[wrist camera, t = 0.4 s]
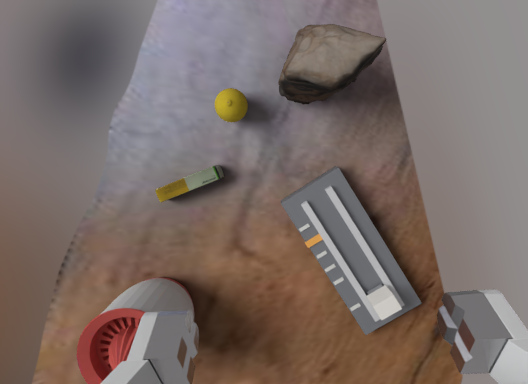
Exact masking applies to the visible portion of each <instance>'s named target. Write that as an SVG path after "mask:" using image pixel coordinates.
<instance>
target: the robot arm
mask: <svg viewBox="0 0 528 384" xmlns="http://www.w3.org/2000/svg"><path fill="white" fill-rule="evenodd" d="M442 302H443V304H444V305H443V306H442V307H440V308H439V310H438V314H437V320H438V326H439V329H440V332H441V334H442V336H443V339H444V340H446V341H447V342H448V343H450V344H451V345H452V347H451V351H450V354H451V356H452V358H453V360H454V362H455V364H456V366H457V368H458V370H459V372H460V374H473V373H474V374H477V373H490V376H491V377H493V378H494V379H495V380H496V381H497V382H498V383H499V384H528V330H527V328H526V327H525V326H524V324H523V323H522V321H521V320H520V319H519V317H518V316H517V315H516V313H515V312H514V310H513V309H512V307H511V306H510V305H509V303H508V302H507V301H506V299H505V298H504V296H503V295H502V294H501V292H499V291H498V290H496V289H492V290H481V291H478V290H473V291H460V292H448V293H445V294H444V295H443V297H442ZM192 321H193V314H192V311H191V310H181V311H158V312H145V313H144V315H143V316H142V318H141V321H140V323H139V326H138V329H137V332H136V335H135V338H134V341H133V343H132V346H131V349H130V352H129V355H128V358H127V361H122V362H121V363H120V364H119V365H118V366H117V367H116V368H115V369H114V370H113V371H112V372H111V373H110V374H109V375H108V376H107V377H106V378H105V379H104V380H103V381H102V382H101V383H100V384H192V382H193V377H194V371H195V365H194V362H193V360H192V359H193V358H194V357H195V355H196V354H197V353H198V347H199V331H198V327H197V324H196V323H194V322H192Z"/></svg>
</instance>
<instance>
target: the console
mask: <svg viewBox="0 0 528 384" xmlns="http://www.w3.org/2000/svg"><path fill="white" fill-rule="evenodd" d="M281 204H282V206H283V208H284V209H285V211H286V212H287V214H288V215H289V217H290V218H291V220H292V221H293V223H294V225H295V226H296V228H297V229H298V231H299V232H300V234H301V235H302V237H303V239H304V240H305V244H306V245H307V247H308V248H310V249H311V251H312V252H313V254H314V256H315V257H316V259H317V260H318V262H319V263H320V265H321V266H322V268H323V270H324V271H325V273H326V274H327V276H328V277H329V279H330V280H331V282H332V284H333V285H334V287H335V288H336V290H337V291H338V293H339V294H340V296H341V297H342V299H343V301H344V302H345V304H346V305H347V307H348V308H349V310H350V311H351V313H352V315H353V316H354V318H355V319H356V321H357V322H358V324H359V325H360V327H361V328H362V330H363V332H364V333H365V335H367V334H369V333H370V332H372V331H374V330H376V329H377V328H379V327H381V326H383V325H384V324H386V323H388V322H390V321H391V320H393V319H395V318H397V317H398V316H400V315H402V314H404V313H405V312H407V311H409V310H411V309H413V308H414V307H416V306H418V305H420V304H421V301H420V300H419V298H418V296H417V295H416V293H415V291H414V290H413V288H412V286H411V285H410V283H409V282H408V280H407V278H406V277H405V275H404V273H403V272H402V270H401V269H400V267H399V265H398V264H397V262H396V260H395V259H394V257H393V256H392V254H391V252H390V251H389V249H388V247H387V246H386V244H385V242H384V241H383V239H382V238H381V236H380V234H379V233H378V231H377V229H376V228H375V226H374V225H373V223H372V221H371V220H370V218H369V216H368V215H367V213H366V212H365V210H364V208H363V207H362V205H361V203H360V202H359V200H358V198H357V197H356V195H355V194H354V192H353V190H352V189H351V187H350V185H349V184H348V182H347V181H346V179H345V177H344V176H343V174H342V172H341V171H340V169H339V168H338V167H336V166H335V167H333V168H332V169H330V170H329V171H327V172H325V173H324V174H322V175H321V176H319V177H318V178H316V179H314V180H313V181H311V182H310V183H308V184H306V185H305V186H303V187H302V188H300V189H298V190H297V191H295V192H294V193H292V194H290V195H289V196H287V197H286V198H284V199H283V200H281ZM380 284H382V286H384V285H386V286H387V288H388V289H389V290H390V291H391V292H392V294H393V295H394V296H395V298H396V300H397V301H398V303H399V304H400V306H401V308H402V309H401V310H399V311H398V312H396V313H394V314H392V315H391V316H389V317H387V318H385V319H384V320H381V319H380V317H379V316H378V314H377V312H376V311H375V309H374V308H373V306H372V305H371V303H370V301H369V300H368V298H367V297H366V296H367V295H368V293H367V292H368V291H369V290H371V289H373V288H375V287H376V286H378V285H380Z"/></svg>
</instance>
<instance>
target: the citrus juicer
mask: <svg viewBox="0 0 528 384" xmlns="http://www.w3.org/2000/svg"><path fill="white" fill-rule="evenodd" d="M181 310H191V311H192V314H193V321H192V322H194V305H193V301H192V298H191V296H190V294H189V292H188V291H187V290H186V288H185V287H184V286H183V285H182V284H180V283H179V282H177V281H175V280H173V279H170V278H163V277H160V278H151V279H147V280H144V281H142V282H140V283H138V284H136V285H134V286H132V287H130V288H129V289H127V290H126V291H125V292H123V293H122V294H121V295H120V296H118V297H117V298H116V299H115V300H114V301H113V302H112V303H111V304H110V305H109V306H108V307H107V308H106V309H105V310H104V311H103V312H102V313H101V314H100V315H98V316H97V317H96V318H94V319H93V320H92V321H91V322H90V323H89V324H88V325H87V326H86V327H85V329H84V330H83V332H82V334H81V336H80V339H79V343H78V346H77V360H78V366H79V368H80V371H81V374H82V376H83V377H84V379H85V381H86V382H87V383H88V384H100V383H101V382H102V381H103V380H104V379H105V378H106V377H107V376H108V375H109V374H110V373H111V372H112V371H113V370H114V369H115V368H116V367H117V366H118V365H119V364H120V363H121V362H122V361H127V358H128V355H129V352H130V349H131V346H132V343H133V341H134V338H135V335H136V332H137V329H138V326H139V323H140V321H141V318H142V316H143V315H144V313H145V312H158V311H181Z"/></svg>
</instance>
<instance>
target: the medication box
mask: <svg viewBox="0 0 528 384" xmlns="http://www.w3.org/2000/svg"><path fill="white" fill-rule="evenodd" d="M222 178H224V174H223V171H222V169H221V167H220V166H219V165H215V166H213V167H210V168H207V169H205V170H202V171H200V172H197V173H195V174H192V175H190V176H188V177H185V178H183V179H180V180H178V181H175V182H173V183H170V184H168V185H165V186H163V187H160V188H158V189H156V190H155V191H156V194H157V196H158V198H159V200H160V202H163V201H166V200H169V199H172V198H174V197H177V196H179V195H182V194H184V193H187V192H189V191H192V190H194V189H197V188H199V187H202V186H204V185H207V184H209V183H212V182H214V181H217V180H219V179H222Z"/></svg>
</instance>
